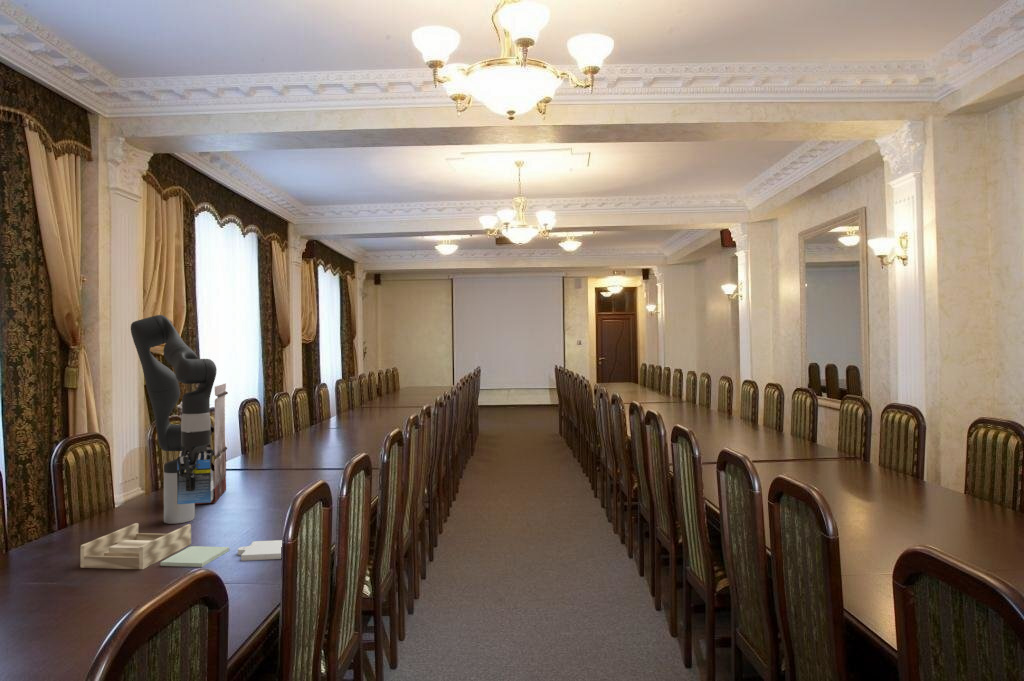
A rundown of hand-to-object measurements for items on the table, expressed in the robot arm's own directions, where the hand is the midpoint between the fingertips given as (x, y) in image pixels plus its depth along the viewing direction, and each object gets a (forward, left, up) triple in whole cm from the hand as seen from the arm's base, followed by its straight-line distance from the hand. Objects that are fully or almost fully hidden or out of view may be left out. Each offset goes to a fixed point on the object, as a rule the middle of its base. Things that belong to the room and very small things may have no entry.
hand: (195, 488), depth 181 cm
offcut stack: (+2, -18, -20) cm, 27 cm away
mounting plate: (-7, +19, -20) cm, 29 cm away
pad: (0, 0, -20) cm, 20 cm away
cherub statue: (-68, -41, -20) cm, 82 cm away
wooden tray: (-1, -18, -20) cm, 27 cm away
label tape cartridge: (0, 0, -4) cm, 4 cm away
